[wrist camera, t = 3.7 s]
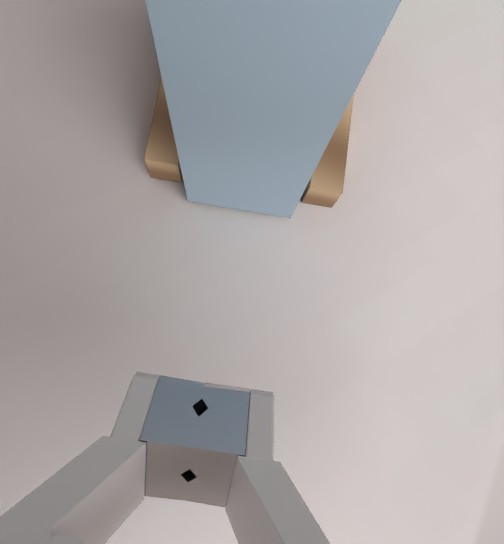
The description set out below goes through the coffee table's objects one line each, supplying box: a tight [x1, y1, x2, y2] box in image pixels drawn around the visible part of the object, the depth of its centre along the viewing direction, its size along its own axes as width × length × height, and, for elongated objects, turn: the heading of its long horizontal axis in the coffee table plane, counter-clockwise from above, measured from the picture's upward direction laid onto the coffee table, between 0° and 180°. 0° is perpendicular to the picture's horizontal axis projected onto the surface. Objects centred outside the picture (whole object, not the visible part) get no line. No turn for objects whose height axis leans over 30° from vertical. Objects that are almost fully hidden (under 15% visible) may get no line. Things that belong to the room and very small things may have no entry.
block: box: [145, 0, 401, 218], centre depth 15 cm, size 5×5×14 cm
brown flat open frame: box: [144, 77, 354, 207], centre depth 22 cm, size 18×9×3 cm, turn 172°
